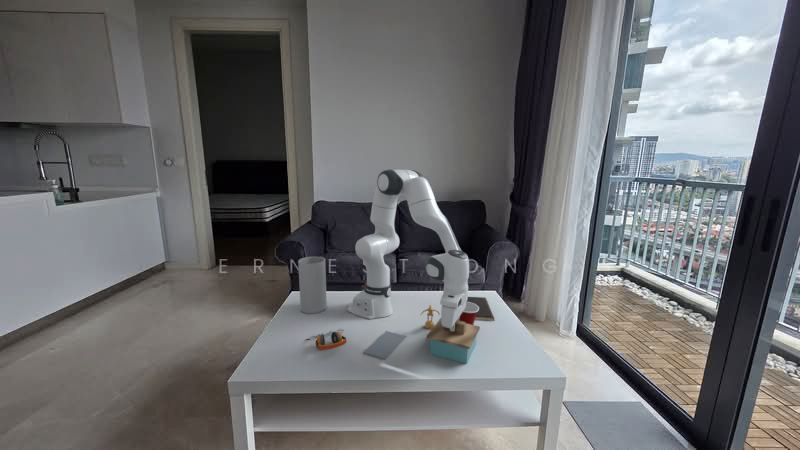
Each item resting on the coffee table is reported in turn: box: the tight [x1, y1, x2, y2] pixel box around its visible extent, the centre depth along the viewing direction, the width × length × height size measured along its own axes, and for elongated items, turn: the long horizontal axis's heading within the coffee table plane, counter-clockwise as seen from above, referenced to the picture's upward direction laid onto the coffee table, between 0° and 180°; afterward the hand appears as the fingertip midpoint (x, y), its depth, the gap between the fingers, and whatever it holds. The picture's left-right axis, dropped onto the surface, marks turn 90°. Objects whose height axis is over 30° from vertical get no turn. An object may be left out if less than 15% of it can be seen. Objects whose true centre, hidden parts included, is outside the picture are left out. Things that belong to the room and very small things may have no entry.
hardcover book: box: [467, 296, 495, 322], centre depth 162 cm, size 16×23×2 cm
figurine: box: [420, 304, 441, 330], centre depth 139 cm, size 8×6×12 cm
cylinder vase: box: [297, 256, 328, 315], centre depth 158 cm, size 12×12×25 cm
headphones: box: [305, 329, 348, 350], centre depth 128 cm, size 17×5×20 cm
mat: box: [363, 330, 407, 361], centre depth 126 cm, size 20×18×1 cm
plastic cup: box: [459, 301, 479, 325], centre depth 138 cm, size 11×11×12 cm
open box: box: [429, 334, 478, 365], centre depth 124 cm, size 14×14×7 cm
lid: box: [426, 317, 480, 349], centre depth 123 cm, size 16×16×5 cm
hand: (454, 328), depth 123 cm, fingers closed on lid, 2 cm apart
